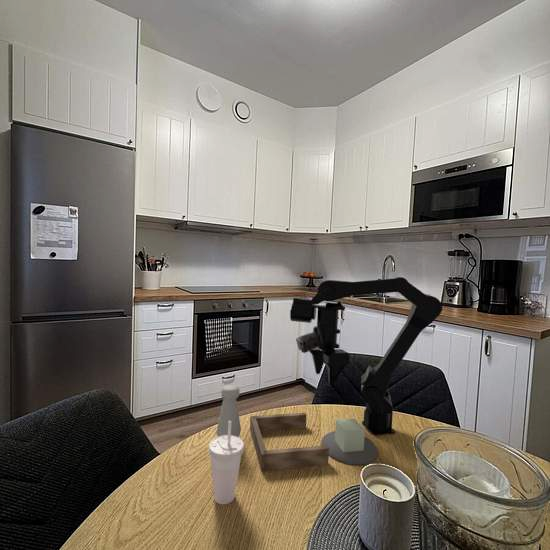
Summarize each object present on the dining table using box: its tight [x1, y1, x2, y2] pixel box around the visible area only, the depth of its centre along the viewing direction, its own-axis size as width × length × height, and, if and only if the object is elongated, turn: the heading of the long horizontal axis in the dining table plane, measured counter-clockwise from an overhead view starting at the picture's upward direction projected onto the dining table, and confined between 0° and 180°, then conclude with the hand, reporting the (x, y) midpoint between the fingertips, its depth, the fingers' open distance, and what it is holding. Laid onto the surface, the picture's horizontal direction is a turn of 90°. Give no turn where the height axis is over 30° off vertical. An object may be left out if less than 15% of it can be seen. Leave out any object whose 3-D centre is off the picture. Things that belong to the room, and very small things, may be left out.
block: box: [334, 418, 366, 452], centre depth 73 cm, size 5×5×5 cm
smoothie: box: [207, 421, 245, 505], centre depth 56 cm, size 6×6×14 cm
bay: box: [249, 412, 330, 472], centre depth 73 cm, size 15×16×4 cm
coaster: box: [320, 430, 379, 466], centre depth 73 cm, size 13×13×1 cm
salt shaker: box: [215, 384, 242, 438], centre depth 74 cm, size 6×6×13 cm
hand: (324, 379), depth 87 cm, fingers open, 9 cm apart
